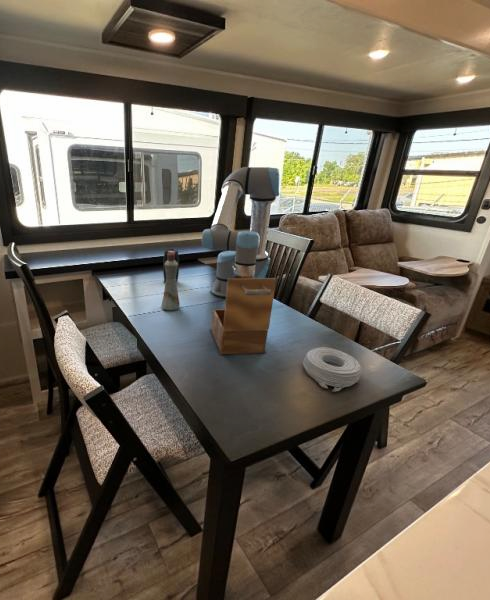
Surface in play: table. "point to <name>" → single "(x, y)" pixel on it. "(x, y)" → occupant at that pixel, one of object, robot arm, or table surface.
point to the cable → (332, 368)
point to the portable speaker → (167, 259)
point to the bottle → (170, 284)
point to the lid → (248, 303)
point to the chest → (236, 337)
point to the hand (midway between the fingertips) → (237, 329)
